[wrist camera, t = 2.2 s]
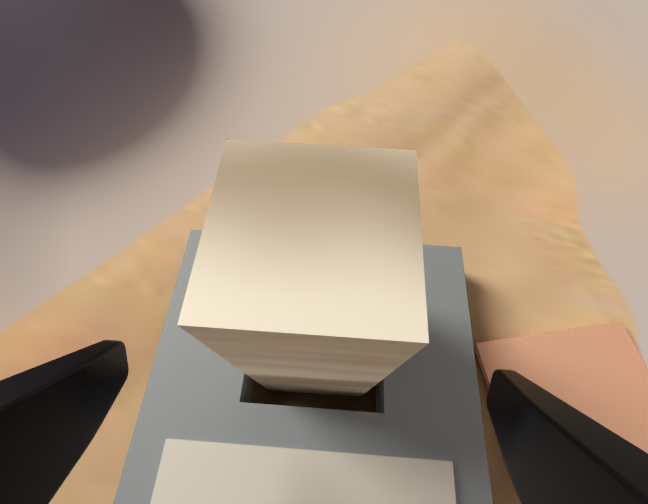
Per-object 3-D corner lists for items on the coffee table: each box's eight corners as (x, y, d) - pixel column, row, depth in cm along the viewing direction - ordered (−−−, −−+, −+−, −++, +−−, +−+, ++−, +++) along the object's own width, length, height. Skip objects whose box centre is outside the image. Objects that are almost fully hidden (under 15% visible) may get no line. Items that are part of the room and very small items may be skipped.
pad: (712, 504, 15) (721, 506, 15) (536, 537, 14) (542, 540, 14) (616, 323, 18) (622, 321, 18) (473, 344, 18) (476, 342, 18)
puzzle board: (507, 900, 10) (569, 1056, 8) (54, 849, 11) (-31, 983, 8) (445, 267, 20) (464, 243, 17) (205, 251, 20) (188, 225, 18)
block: (360, 397, 17) (428, 343, 6) (268, 389, 17) (177, 324, 6) (362, 307, 19) (415, 150, 8) (279, 302, 19) (226, 139, 8)
